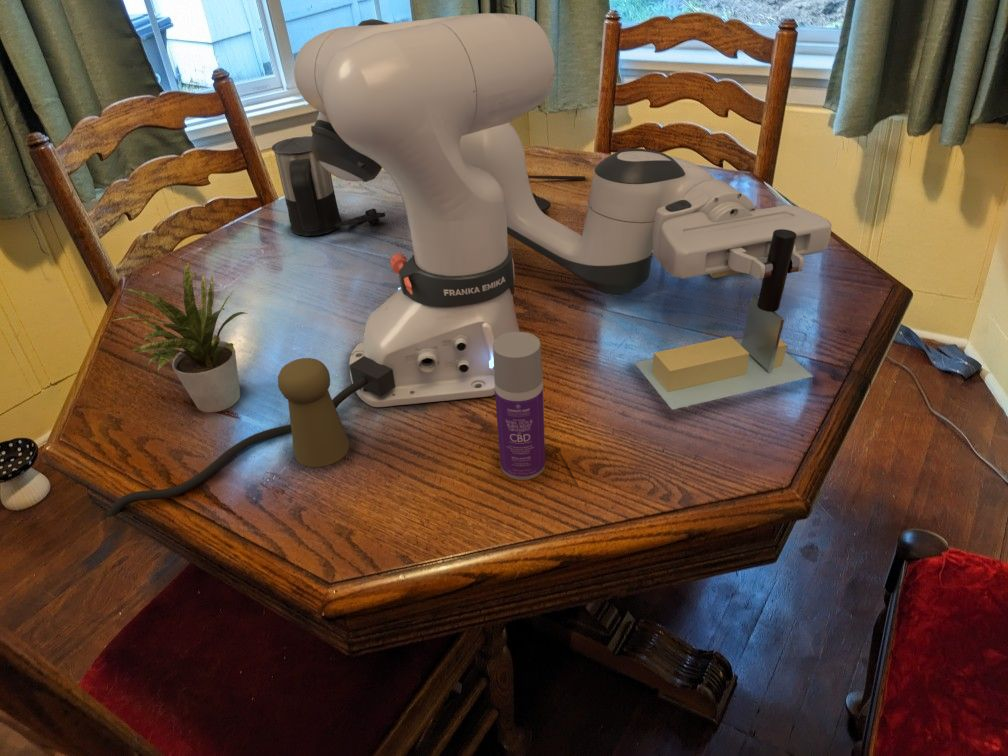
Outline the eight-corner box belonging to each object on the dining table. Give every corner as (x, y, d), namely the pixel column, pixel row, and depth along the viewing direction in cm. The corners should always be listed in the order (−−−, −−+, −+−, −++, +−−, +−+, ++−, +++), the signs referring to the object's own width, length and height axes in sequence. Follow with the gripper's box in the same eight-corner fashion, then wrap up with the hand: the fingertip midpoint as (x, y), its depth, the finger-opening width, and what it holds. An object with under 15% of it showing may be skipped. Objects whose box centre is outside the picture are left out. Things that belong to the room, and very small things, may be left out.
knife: (761, 373, 85) (792, 245, 76) (733, 346, 89) (759, 224, 80) (779, 370, 85) (811, 243, 76) (750, 343, 90) (778, 221, 81)
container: (511, 486, 74) (503, 363, 65) (493, 458, 77) (483, 338, 69) (553, 471, 75) (550, 349, 66) (533, 445, 79) (528, 326, 70)
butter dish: (671, 416, 81) (672, 409, 81) (633, 368, 89) (633, 362, 89) (812, 383, 85) (813, 376, 84) (763, 340, 93) (764, 333, 92)
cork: (337, 470, 77) (316, 385, 71) (284, 464, 78) (259, 381, 72) (357, 433, 82) (339, 351, 75) (307, 428, 83) (286, 347, 77)
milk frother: (285, 223, 132) (265, 141, 124) (367, 204, 138) (354, 124, 129) (304, 252, 122) (284, 165, 113) (393, 230, 127) (380, 145, 119)
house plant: (154, 378, 93) (107, 262, 84) (264, 352, 97) (231, 238, 87) (152, 445, 82) (98, 320, 73) (277, 412, 86) (240, 290, 76)
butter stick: (667, 392, 83) (669, 370, 82) (652, 373, 86) (653, 352, 85) (745, 374, 85) (749, 353, 84) (727, 356, 88) (730, 335, 87)
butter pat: (767, 368, 86) (772, 347, 84) (748, 351, 89) (753, 330, 87) (781, 366, 86) (787, 344, 85) (762, 348, 89) (767, 327, 88)
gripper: (786, 232, 95) (857, 278, 84) (641, 259, 90) (695, 311, 80) (794, 185, 91) (870, 227, 80) (644, 211, 87) (701, 259, 76)
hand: (781, 269), depth 80 cm, fingers closed on knife, 2 cm apart
